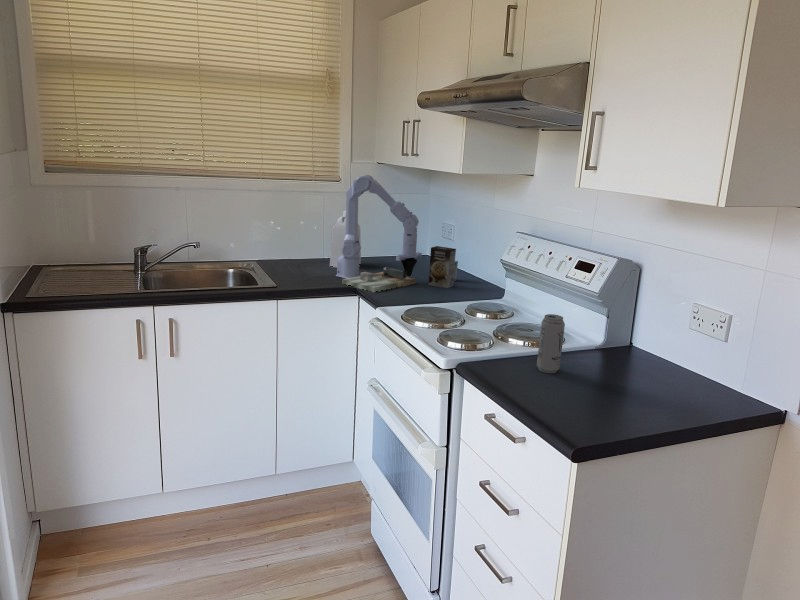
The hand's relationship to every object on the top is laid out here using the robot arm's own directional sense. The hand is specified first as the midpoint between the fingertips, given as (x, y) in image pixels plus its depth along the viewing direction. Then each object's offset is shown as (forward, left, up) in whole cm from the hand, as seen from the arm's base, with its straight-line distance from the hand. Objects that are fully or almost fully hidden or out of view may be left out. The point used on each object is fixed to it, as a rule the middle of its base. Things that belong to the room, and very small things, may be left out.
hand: (408, 275), depth 257 cm
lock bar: (-3, -5, 0) cm, 6 cm away
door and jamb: (-5, -12, -3) cm, 13 cm away
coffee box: (+13, +7, -3) cm, 15 cm away
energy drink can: (+93, -49, -3) cm, 105 cm away
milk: (-41, +3, -3) cm, 42 cm away
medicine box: (+8, +18, -3) cm, 20 cm away
